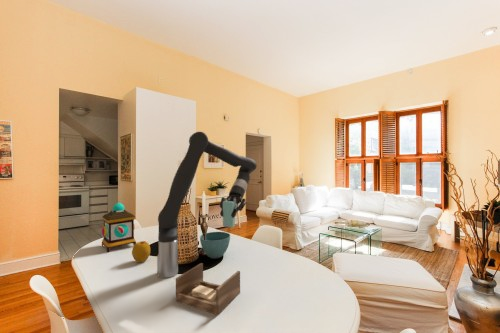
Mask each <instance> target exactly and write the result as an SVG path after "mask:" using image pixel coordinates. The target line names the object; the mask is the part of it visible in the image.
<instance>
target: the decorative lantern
mask: <svg viewBox="0 0 500 333" xmlns="http://www.w3.org/2000/svg"><path fill="white" fill-rule="evenodd" d="M101 218H102V220H103V227H102V228H101V234H102V236H103V239H102V240H101V246H102V247H105V248H106V251H107V253H110V250H111V248H115V247H120V246H125V245H131V244H132V245H133V247H134V245H135V244H136V243H137V241H136V238H135V234H134V233H135V228H136V227H135V219H136V216H135V215H134V214H133V213H131V212H129V211H127V210H126V209H125V205H124V204H122V203H121V202H117V203H116V204H115V205H113V207H112V209H111V211H109V212H108V213H105V214H103V216H102V217H101ZM103 245H104V246H103Z"/></svg>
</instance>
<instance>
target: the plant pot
mask: <svg viewBox="0 0 500 333" xmlns="http://www.w3.org/2000/svg"><path fill="white" fill-rule="evenodd" d="M230 241H231V234H230V233H229V232H225V231H210V232H206V240H204V237H203V234H201V235H200V236H199V242H200V246H201V248H202V250H203V252H204V254H206V256H207V257H208V258H209V257H210V259H220V258H221V257H223V256H224V255H225V253H226V251H227V250H228V249H229V248H228V247H229V245H230Z"/></svg>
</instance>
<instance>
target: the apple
mask: <svg viewBox="0 0 500 333" xmlns="http://www.w3.org/2000/svg"><path fill="white" fill-rule="evenodd" d="M131 255H132V258H133V260H134V262H136V263H144V262H146V261H148V258H149V257H150V255H151V246H150V244H149V243H148V242H147V241H144V240H143V241H138V242H137V241H136V244H135V245H134V246H133V247H132V251H131Z"/></svg>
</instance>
